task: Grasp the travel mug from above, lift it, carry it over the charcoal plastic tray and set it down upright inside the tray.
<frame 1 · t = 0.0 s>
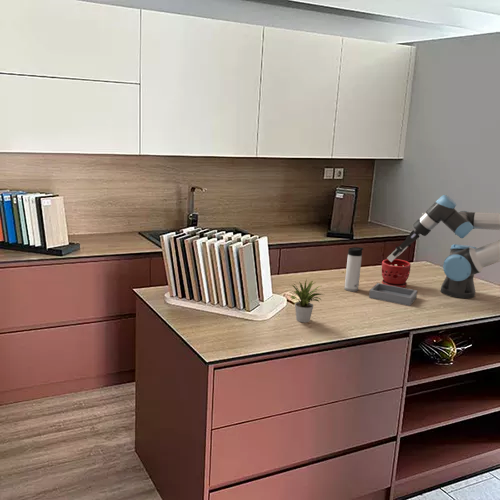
hand: (392, 257, 260), 15 cm above the countertop, tool tilted 35°, fingers open, 13 cm apart
plant pot: (393, 286, 268), on the countertop
house plant: (300, 321, 216), on the countertop
tray: (392, 297, 250), on the countertop
travel mug: (351, 290, 259), on the countertop
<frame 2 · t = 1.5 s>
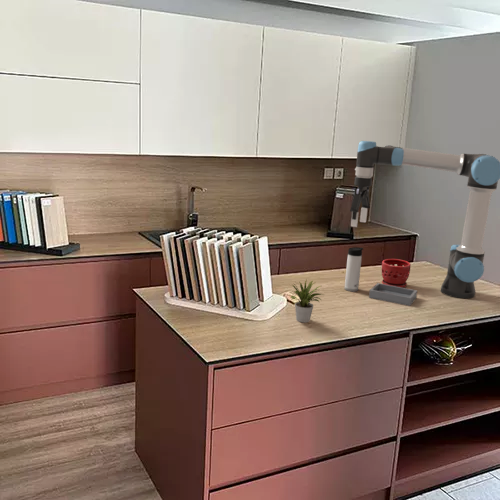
hand: (358, 224, 251), 31 cm above the countertop, tool pointing down, fingers open, 13 cm apart
nothing on the countertop moved.
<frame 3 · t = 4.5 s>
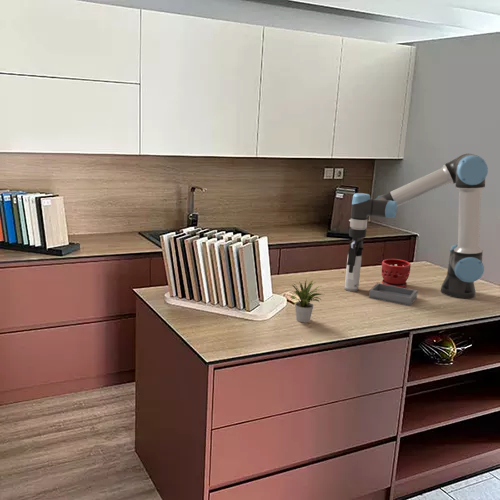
hand: (352, 277, 257), 6 cm above the countertop, tool pointing down, fingers closed on travel mug, 6 cm apart
travel mug: (351, 290, 259), on the countertop, touching gripper
everything else where it was.
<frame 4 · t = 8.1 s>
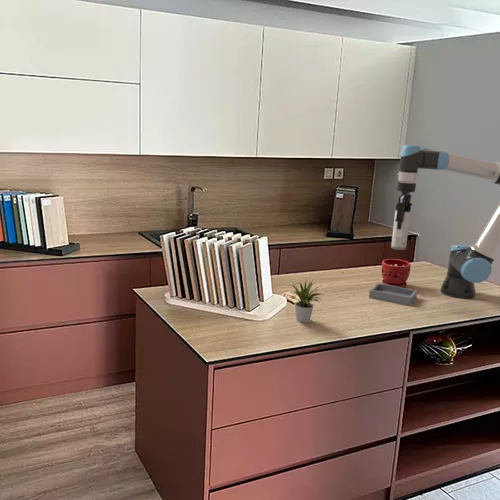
hand: (400, 235, 243), 29 cm above the countertop, tool pointing down, fingers closed on travel mug, 6 cm apart
travel mug: (398, 248, 245), point 22 cm above the countertop, touching gripper
everything else where it was.
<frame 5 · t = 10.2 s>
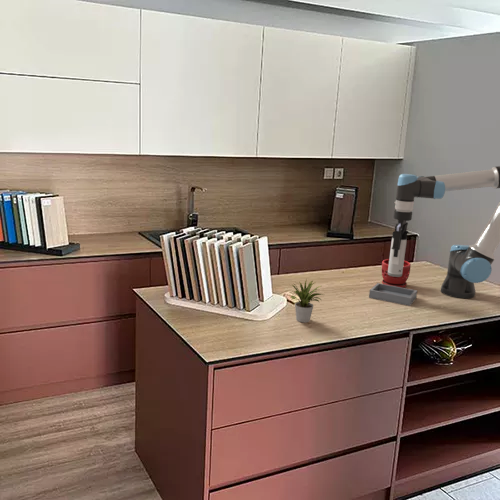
hand: (396, 262, 246), 16 cm above the countertop, tool pointing down, fingers closed on travel mug, 6 cm apart
travel mug: (395, 275, 248), point 10 cm above the countertop, touching gripper
everything else where it was.
when the fingers open (8 cm above the countertop, at t = 12.2 s): travel mug drops 1 cm, resting on tray.
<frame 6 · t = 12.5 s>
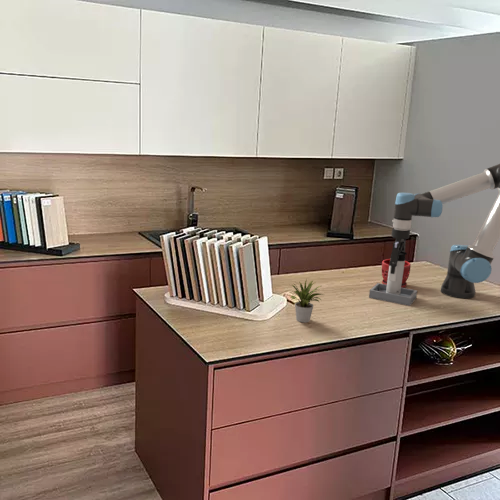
hand: (395, 277, 248), 9 cm above the countertop, tool pointing down, fingers open, 11 cm apart
travel mug: (393, 295, 250), point 1 cm above the countertop, touching tray
everything else where it was.
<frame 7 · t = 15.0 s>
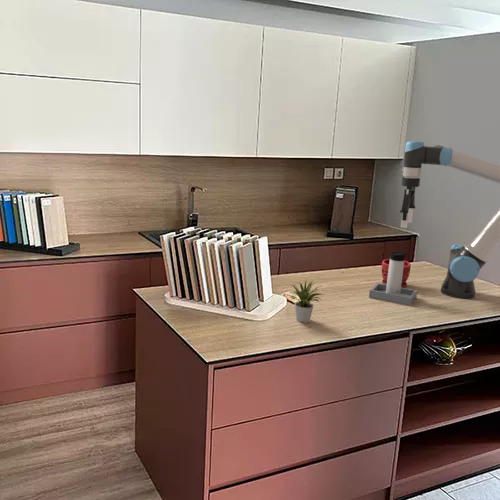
hand: (406, 225, 250), 32 cm above the countertop, tool pointing down, fingers open, 13 cm apart
nothing on the countertop moved.
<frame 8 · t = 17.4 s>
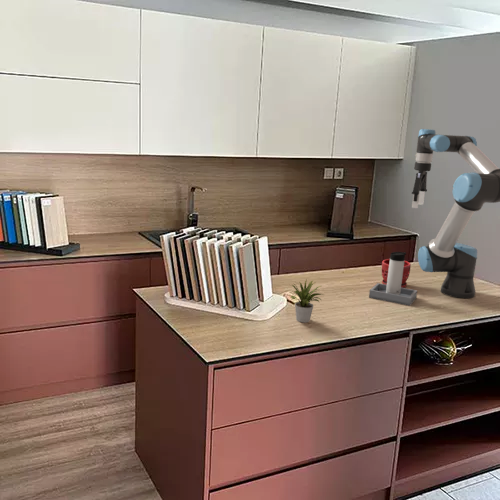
hand: (417, 206, 273), 37 cm above the countertop, tool pointing down, fingers open, 13 cm apart
nothing on the countertop moved.
at the end: travel mug inside the target area on the tray (0.1 cm from its centre), point 0.8 cm above the tray's base; travel mug tilted 0°; the gripper is holding nothing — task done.
